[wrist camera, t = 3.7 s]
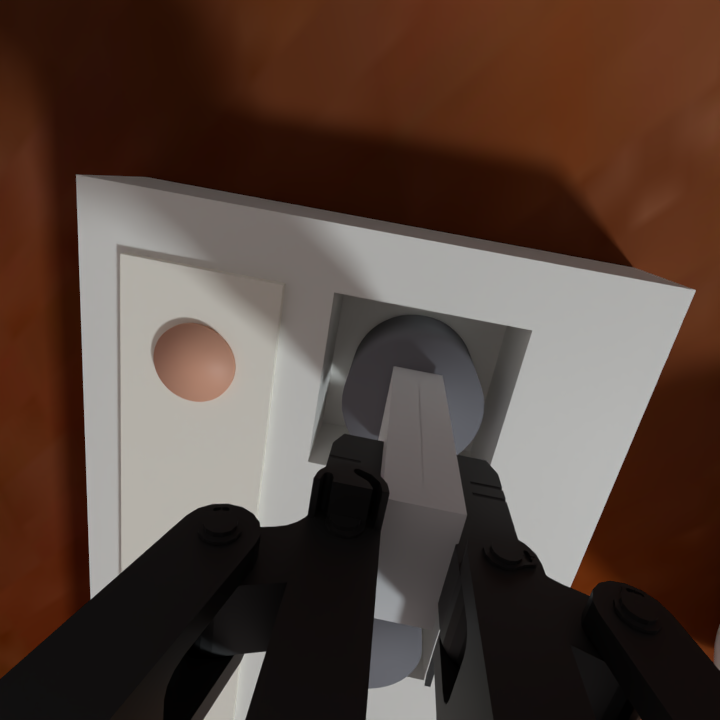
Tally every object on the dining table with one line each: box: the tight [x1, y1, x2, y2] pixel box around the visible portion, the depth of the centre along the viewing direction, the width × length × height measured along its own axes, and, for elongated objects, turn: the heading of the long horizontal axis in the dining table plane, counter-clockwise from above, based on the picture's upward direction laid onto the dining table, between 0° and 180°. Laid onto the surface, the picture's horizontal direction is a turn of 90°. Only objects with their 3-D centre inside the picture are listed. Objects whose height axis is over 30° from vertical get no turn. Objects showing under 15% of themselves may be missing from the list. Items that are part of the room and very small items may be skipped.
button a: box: [342, 315, 484, 455], centre depth 16 cm, size 4×4×3 cm
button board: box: [76, 175, 696, 720], centre depth 20 cm, size 18×28×4 cm, turn 170°
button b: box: [368, 618, 422, 689], centre depth 19 cm, size 4×4×3 cm
